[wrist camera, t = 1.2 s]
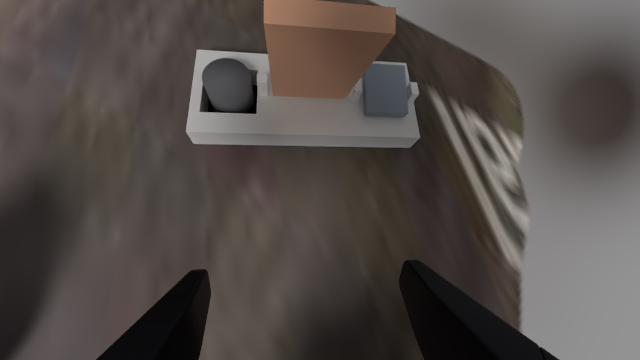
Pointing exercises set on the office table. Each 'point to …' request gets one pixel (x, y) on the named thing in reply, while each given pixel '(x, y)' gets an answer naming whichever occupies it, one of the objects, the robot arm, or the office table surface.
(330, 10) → the paddle lever
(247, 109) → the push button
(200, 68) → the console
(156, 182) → the office table surface
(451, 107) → the office table surface
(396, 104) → the rocker switch
